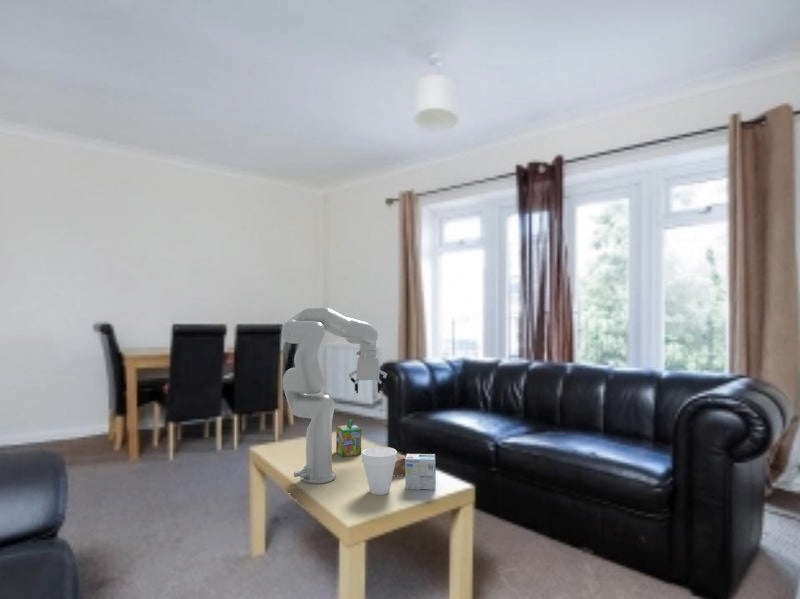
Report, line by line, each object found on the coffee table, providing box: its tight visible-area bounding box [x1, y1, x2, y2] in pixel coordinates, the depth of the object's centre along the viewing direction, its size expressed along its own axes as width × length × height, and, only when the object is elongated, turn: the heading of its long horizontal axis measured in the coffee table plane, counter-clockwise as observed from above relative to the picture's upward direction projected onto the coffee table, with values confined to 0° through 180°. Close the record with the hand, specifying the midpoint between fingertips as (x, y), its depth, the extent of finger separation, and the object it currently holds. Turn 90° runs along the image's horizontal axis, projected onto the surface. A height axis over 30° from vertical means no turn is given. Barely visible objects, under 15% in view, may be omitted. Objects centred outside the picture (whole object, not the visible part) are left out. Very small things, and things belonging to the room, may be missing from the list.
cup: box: [361, 446, 398, 496], centre depth 162 cm, size 12×12×14 cm
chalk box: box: [335, 418, 362, 458], centre depth 207 cm, size 9×9×15 cm
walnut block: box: [393, 453, 406, 477], centre depth 181 cm, size 6×6×6 cm
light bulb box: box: [404, 453, 437, 491], centre depth 166 cm, size 11×7×11 cm, turn 84°
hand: (367, 392), depth 208 cm, fingers open, 9 cm apart
